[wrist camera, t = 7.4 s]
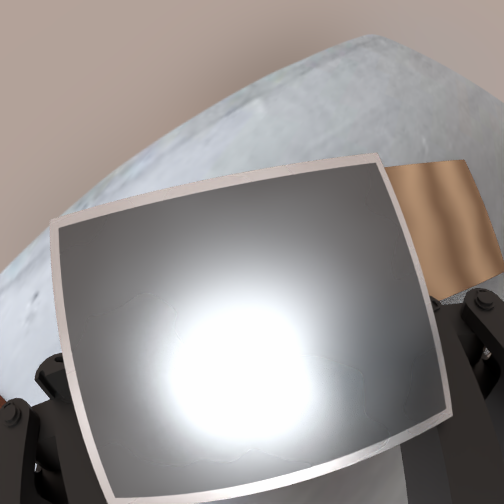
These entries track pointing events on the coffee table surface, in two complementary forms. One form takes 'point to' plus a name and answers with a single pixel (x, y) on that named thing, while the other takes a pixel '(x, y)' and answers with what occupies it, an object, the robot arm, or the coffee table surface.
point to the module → (245, 331)
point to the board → (447, 225)
